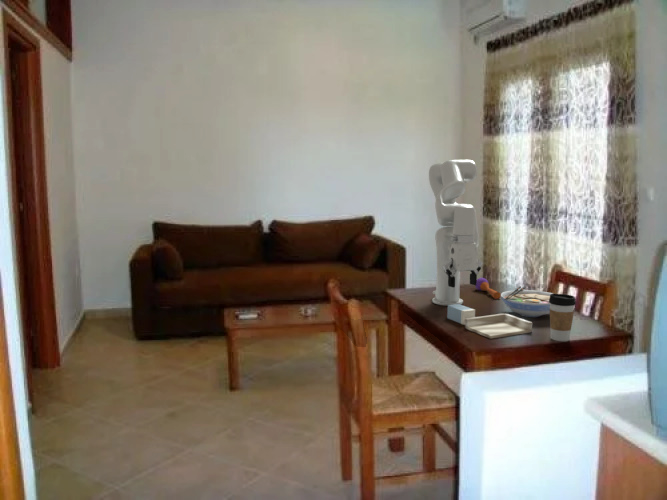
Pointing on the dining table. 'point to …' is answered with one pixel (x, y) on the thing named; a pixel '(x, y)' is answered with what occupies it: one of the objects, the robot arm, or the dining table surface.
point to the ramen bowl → (527, 302)
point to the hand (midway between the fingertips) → (462, 285)
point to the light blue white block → (460, 313)
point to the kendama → (486, 287)
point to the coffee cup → (561, 316)
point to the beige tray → (498, 325)
